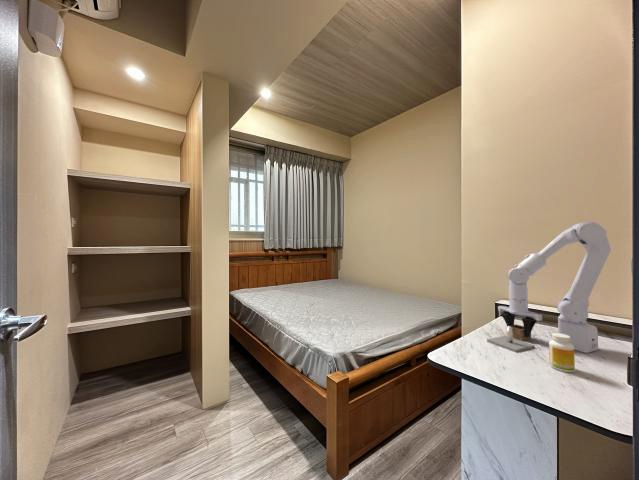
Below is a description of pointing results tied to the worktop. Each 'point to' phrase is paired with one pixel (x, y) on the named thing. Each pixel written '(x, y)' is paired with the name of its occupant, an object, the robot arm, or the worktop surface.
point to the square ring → (519, 332)
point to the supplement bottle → (561, 353)
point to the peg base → (512, 345)
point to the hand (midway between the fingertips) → (519, 333)
